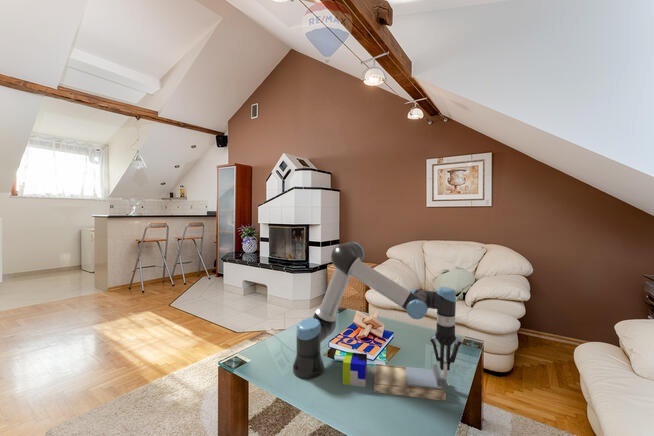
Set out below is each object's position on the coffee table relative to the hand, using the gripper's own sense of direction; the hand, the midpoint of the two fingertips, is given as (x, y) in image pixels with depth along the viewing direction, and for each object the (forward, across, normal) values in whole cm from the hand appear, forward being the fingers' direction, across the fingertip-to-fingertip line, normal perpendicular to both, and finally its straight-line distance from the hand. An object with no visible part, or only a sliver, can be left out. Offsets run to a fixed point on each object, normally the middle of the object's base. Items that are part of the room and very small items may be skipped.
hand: (444, 376), depth 132 cm
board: (+5, -16, 0) cm, 17 cm away
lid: (+2, -9, 0) cm, 9 cm away
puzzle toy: (+6, -39, -1) cm, 40 cm away
